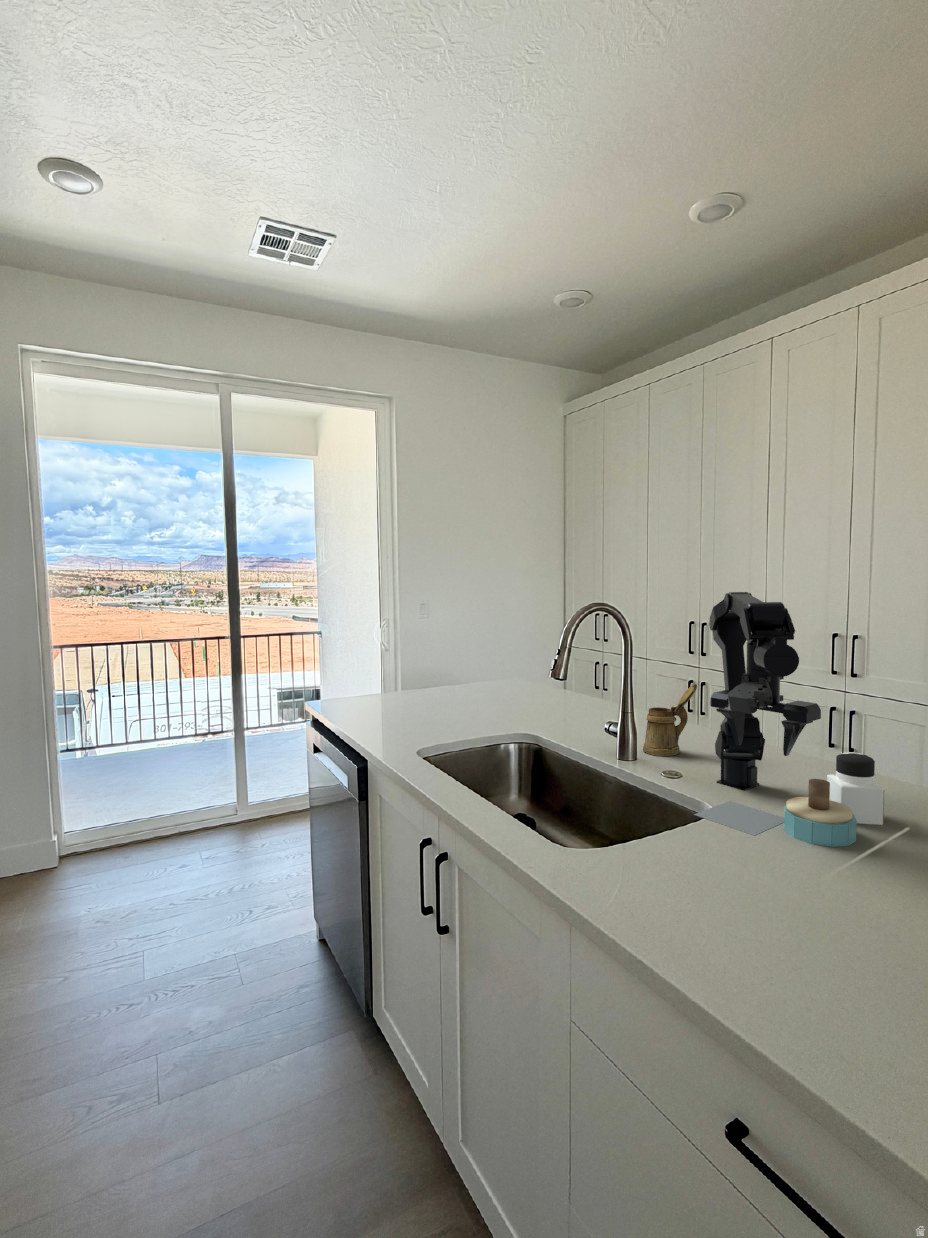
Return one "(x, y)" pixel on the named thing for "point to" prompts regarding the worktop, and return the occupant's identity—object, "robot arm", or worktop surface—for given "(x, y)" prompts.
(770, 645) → the robot arm
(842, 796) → the medicine bottle
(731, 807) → the mat
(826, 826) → the bowl
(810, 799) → the lid
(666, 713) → the wooden mug
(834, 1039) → the worktop surface
